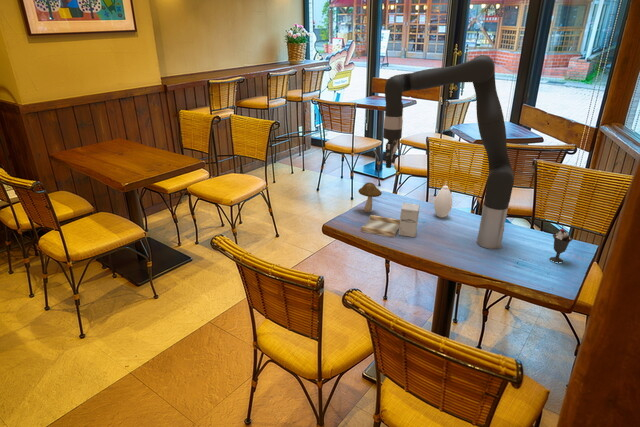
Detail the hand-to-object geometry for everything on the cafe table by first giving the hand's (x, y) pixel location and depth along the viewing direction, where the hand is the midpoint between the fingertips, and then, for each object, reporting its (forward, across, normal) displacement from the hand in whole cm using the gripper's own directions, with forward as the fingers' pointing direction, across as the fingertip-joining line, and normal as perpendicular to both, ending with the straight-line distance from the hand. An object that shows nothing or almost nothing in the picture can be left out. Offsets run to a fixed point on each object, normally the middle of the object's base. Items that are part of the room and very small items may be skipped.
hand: (390, 164), depth 182 cm
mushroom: (+29, +12, +11) cm, 33 cm away
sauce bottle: (+29, +19, -23) cm, 41 cm away
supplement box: (+29, -4, -10) cm, 31 cm away
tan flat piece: (+28, -3, +2) cm, 29 cm away
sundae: (+30, -8, -68) cm, 75 cm away
